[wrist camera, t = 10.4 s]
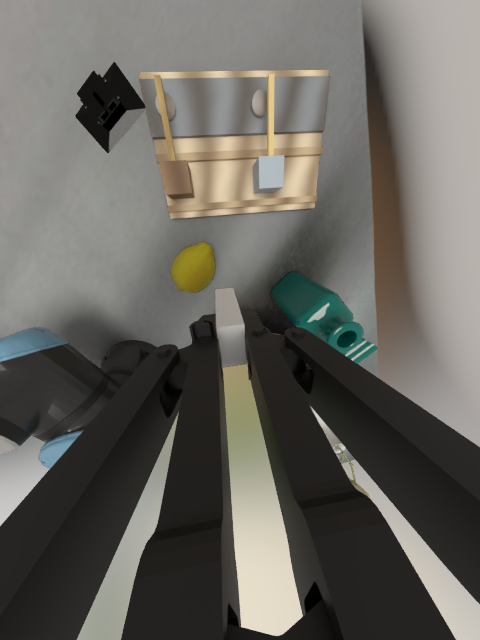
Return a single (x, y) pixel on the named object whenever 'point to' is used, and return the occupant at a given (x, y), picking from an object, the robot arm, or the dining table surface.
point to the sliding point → (269, 153)
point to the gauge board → (234, 137)
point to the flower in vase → (338, 449)
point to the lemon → (194, 267)
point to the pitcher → (321, 315)
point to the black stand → (108, 106)
